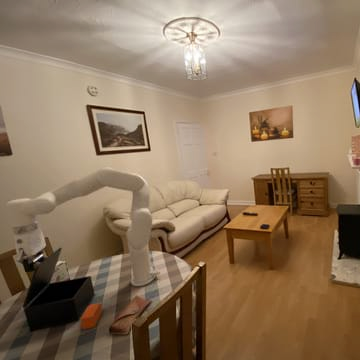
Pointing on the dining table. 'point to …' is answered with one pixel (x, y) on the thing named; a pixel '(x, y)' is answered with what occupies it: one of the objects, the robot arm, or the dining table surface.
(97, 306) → the packet
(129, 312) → the sunglasses case
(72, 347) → the dining table surface
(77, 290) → the black box
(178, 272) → the dining table surface
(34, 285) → the box lid
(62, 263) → the candy bar box
